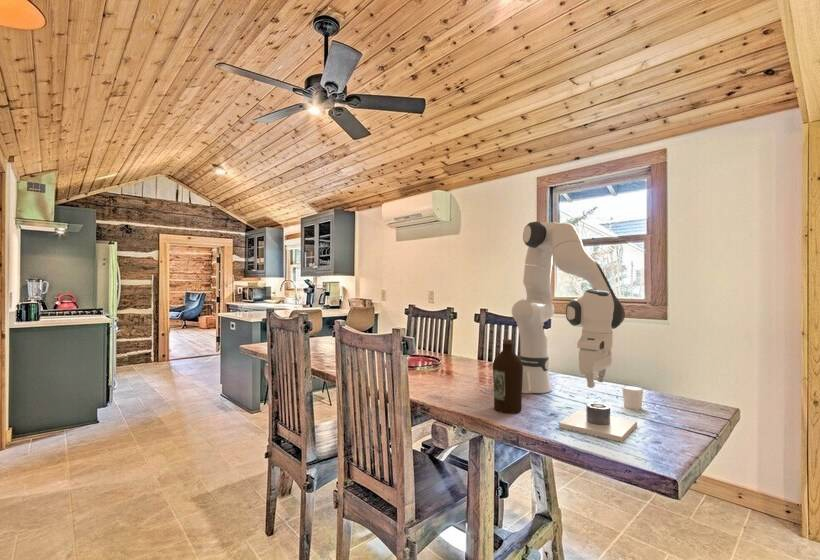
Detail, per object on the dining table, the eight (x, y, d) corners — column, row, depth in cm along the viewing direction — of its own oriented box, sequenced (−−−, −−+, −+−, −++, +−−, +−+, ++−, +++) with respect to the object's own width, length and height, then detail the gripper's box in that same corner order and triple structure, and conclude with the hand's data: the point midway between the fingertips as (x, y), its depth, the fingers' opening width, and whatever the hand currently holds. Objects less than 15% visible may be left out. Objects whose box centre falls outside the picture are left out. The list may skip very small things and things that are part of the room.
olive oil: (510, 403, 154) (510, 337, 154) (529, 412, 144) (529, 340, 144) (486, 407, 150) (486, 338, 150) (504, 415, 140) (504, 342, 140)
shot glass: (646, 410, 146) (646, 390, 146) (625, 409, 147) (625, 389, 147) (639, 404, 153) (639, 385, 153) (619, 403, 154) (619, 385, 154)
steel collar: (583, 422, 129) (583, 406, 129) (590, 416, 134) (590, 401, 134) (606, 426, 125) (606, 410, 125) (612, 421, 130) (612, 405, 130)
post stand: (559, 427, 129) (559, 406, 129) (579, 413, 142) (579, 395, 142) (621, 442, 117) (621, 419, 117) (637, 425, 130) (636, 405, 130)
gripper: (597, 336, 139) (596, 377, 140) (575, 343, 124) (574, 388, 124) (617, 338, 135) (616, 380, 135) (597, 345, 120) (596, 392, 120)
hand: (596, 384), depth 130 cm, fingers open, 8 cm apart
